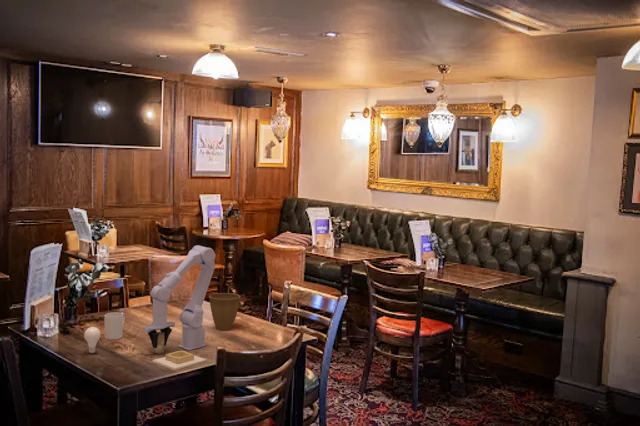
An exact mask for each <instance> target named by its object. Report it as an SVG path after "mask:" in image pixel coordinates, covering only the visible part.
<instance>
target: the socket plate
mask: <svg viewBox="0 0 640 426" xmlns="http://www.w3.org/2000/svg"><path fill="white" fill-rule="evenodd" d="M207 360H208V359H206V358H204V357H200V356H198V355H195V354H193V353H191V352H187V351H185V350H178V351H174V352H170V353H169V352H168V353H166V354H165V356H164V357H159V358H156V359H153V360H152V363H154V364H157V365H159V366H162V367H165V368H167V369H169V370H173V371H177V370H181V369H184V368H188V367H192V366H196V365H199V364H203V363H206V362H208V361H207Z"/></svg>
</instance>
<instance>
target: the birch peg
mask: <svg viewBox="0 0 640 426" xmlns="http://www.w3.org/2000/svg"><path fill="white" fill-rule="evenodd" d="M157 332H158V333H159V335H158V340H157V348H153V350H154V351H153V352H154V354H158V355H160V354H164V353H165V346H164V333H163V332H161V331H157Z"/></svg>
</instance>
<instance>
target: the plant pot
mask: <svg viewBox="0 0 640 426" xmlns="http://www.w3.org/2000/svg"><path fill="white" fill-rule="evenodd" d="M208 298H209V305H210V311H211V315H212V316H211V317H212V320H213V322H214V323H213V324H214V326H215V328H216V330H218V331H229V329H230V330H231V329H232V328H233V326H234V323H235V321H236V317H237V314H238V310H239V306H240V301H241V295H239V294H237V293H231V292H230V293H229V292H220V293H219V292H217V293H212V294H210V295H209V297H208Z"/></svg>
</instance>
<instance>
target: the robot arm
mask: <svg viewBox="0 0 640 426" xmlns="http://www.w3.org/2000/svg"><path fill="white" fill-rule="evenodd" d="M216 256H217V255H216V253H215V251H214V250H213V248H211V247H206V246H202V245H199V244H197V245H194V246H193V247H192V249H190V250H189V251H188V254H187V255H186V257H185V258H184V259H183V260H182V262H181V263H179V265H178V267H177V268H176V269H175V270H174V271H170V272H169V273H168V272H167V273H166V274H165V275H166V276H165V277H164V278H163V279H162V280H161V281H159V283H158V284H157V285H155V286H153V288H152V289H151V291H150V293H149V295H150V297H151V298H152V324H150V325H148V326H144V327H143V333H145V334H147V335H148V337H149V339H150V342H151V346H152V348H153V349H154V348H157V340H158V335H159V333H158V332H163V333H164V347H166V346H167V342H168V339H169V337H170V335H171V334H172V330H173V328H175V327H176V322H174V321H168V300H169V298H170V296H171V293H172V291H173V290H174V289H175V288H176V287H177V286H178V284H179V283H180V282H181V278H182V276H184V275H185V274H186V273H187V271H189V270H190V268H192V267H193V266H194V265H199V267H200V271H199V273H198V277H197V281H196V283H195V286H194V288H193V290H192V291H193V292H192V295H191V298H190V301H189V303H187V304H186V305H185V306H184V308H183V310H182V311H181V313H180V314H179V322H181V326H182V333H181V334H182V335H181V336H182V340H181V343H180V344H177V347H178V348H181V349H185V350H187V351H191V350H195V349H199V348H203V347H206V346H207V345H206V343H205V341H206V330H205V327H204V326H203V325H202V324H203V321H204V319H203V318H204V317H203V316H204V310H203V308H202V307H203V304H204V300H205V298H206V294H207V292H208V290H209V286H210V283H211V280H212V278H213V275H214V272H215V267H216V266H215V265H216V264H215V259H216Z"/></svg>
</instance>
